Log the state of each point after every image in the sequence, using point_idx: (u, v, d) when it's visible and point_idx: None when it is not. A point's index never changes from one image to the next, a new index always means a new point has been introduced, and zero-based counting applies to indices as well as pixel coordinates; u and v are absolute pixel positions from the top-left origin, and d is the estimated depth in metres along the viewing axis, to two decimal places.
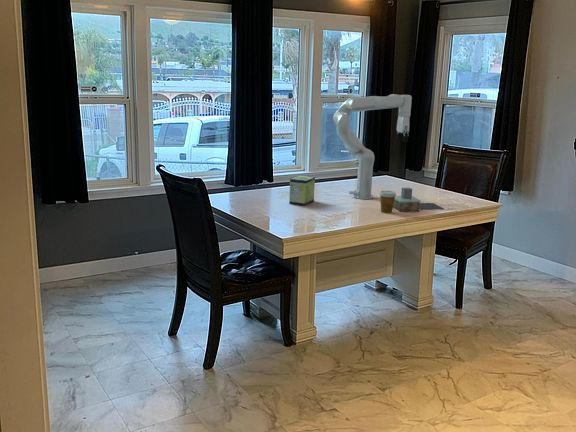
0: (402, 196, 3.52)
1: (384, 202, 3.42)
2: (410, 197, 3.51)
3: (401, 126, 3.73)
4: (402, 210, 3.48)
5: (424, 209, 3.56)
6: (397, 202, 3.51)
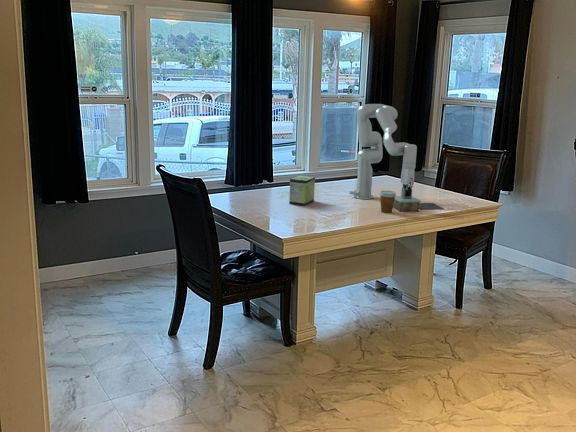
0: (402, 196, 3.52)
1: (384, 202, 3.42)
2: (410, 197, 3.51)
3: (405, 178, 3.46)
4: (402, 210, 3.48)
5: (424, 209, 3.56)
6: (397, 202, 3.51)
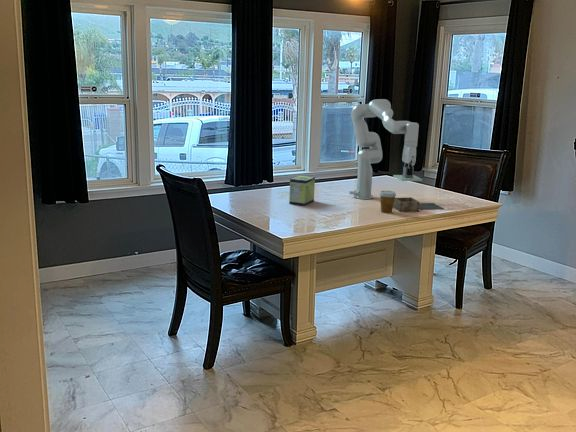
0: (403, 175, 3.49)
1: (384, 202, 3.42)
2: (412, 176, 3.48)
3: (407, 156, 3.43)
4: (402, 210, 3.48)
5: (424, 209, 3.56)
6: (397, 202, 3.51)
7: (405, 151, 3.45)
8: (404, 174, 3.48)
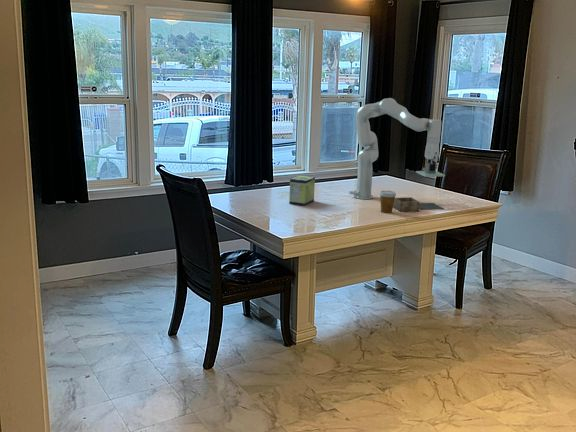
0: (426, 171, 3.58)
1: (384, 202, 3.42)
2: (434, 172, 3.57)
3: (430, 153, 3.52)
4: (402, 210, 3.48)
5: (424, 209, 3.56)
6: (397, 202, 3.51)
7: (428, 147, 3.54)
8: (427, 170, 3.57)
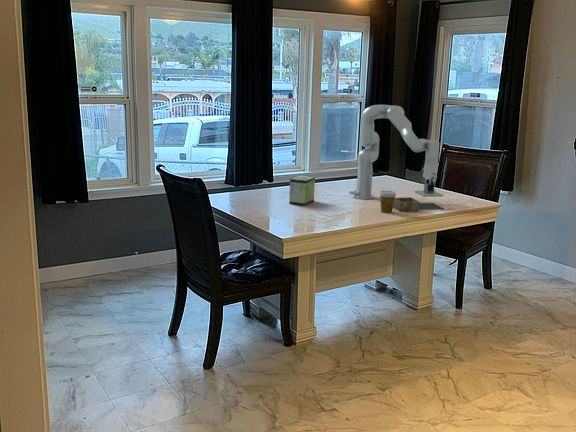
0: (425, 191, 3.61)
1: (384, 202, 3.42)
2: (433, 192, 3.60)
3: (428, 173, 3.55)
4: (402, 210, 3.48)
5: (424, 209, 3.56)
6: (397, 202, 3.51)
7: (426, 168, 3.57)
8: (425, 190, 3.60)
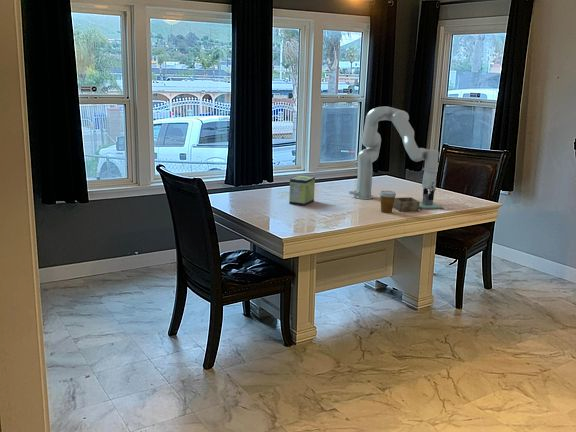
0: (423, 202, 3.63)
1: (384, 202, 3.42)
2: (431, 203, 3.62)
3: (427, 182, 3.56)
4: (402, 210, 3.48)
5: (424, 209, 3.56)
6: (397, 202, 3.51)
7: (425, 177, 3.59)
8: (424, 201, 3.62)
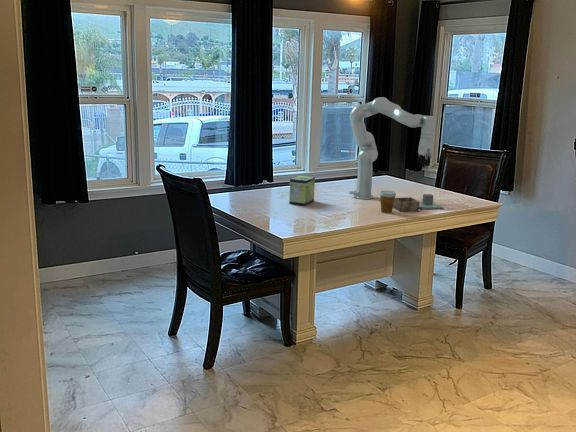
0: (423, 202, 3.63)
1: (384, 202, 3.42)
2: (431, 203, 3.62)
3: (423, 149, 3.55)
4: (402, 210, 3.48)
5: (424, 209, 3.56)
6: (397, 202, 3.51)
7: (421, 143, 3.57)
8: (424, 201, 3.62)
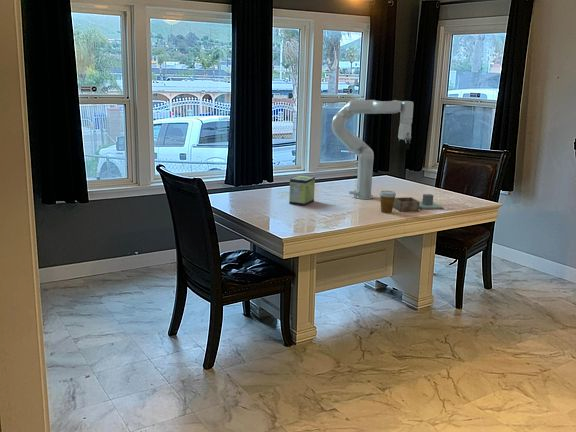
0: (423, 202, 3.63)
1: (384, 202, 3.42)
2: (431, 203, 3.62)
3: (403, 133, 3.66)
4: (402, 210, 3.48)
5: (424, 209, 3.56)
6: (397, 202, 3.51)
7: (401, 128, 3.69)
8: (424, 201, 3.62)
